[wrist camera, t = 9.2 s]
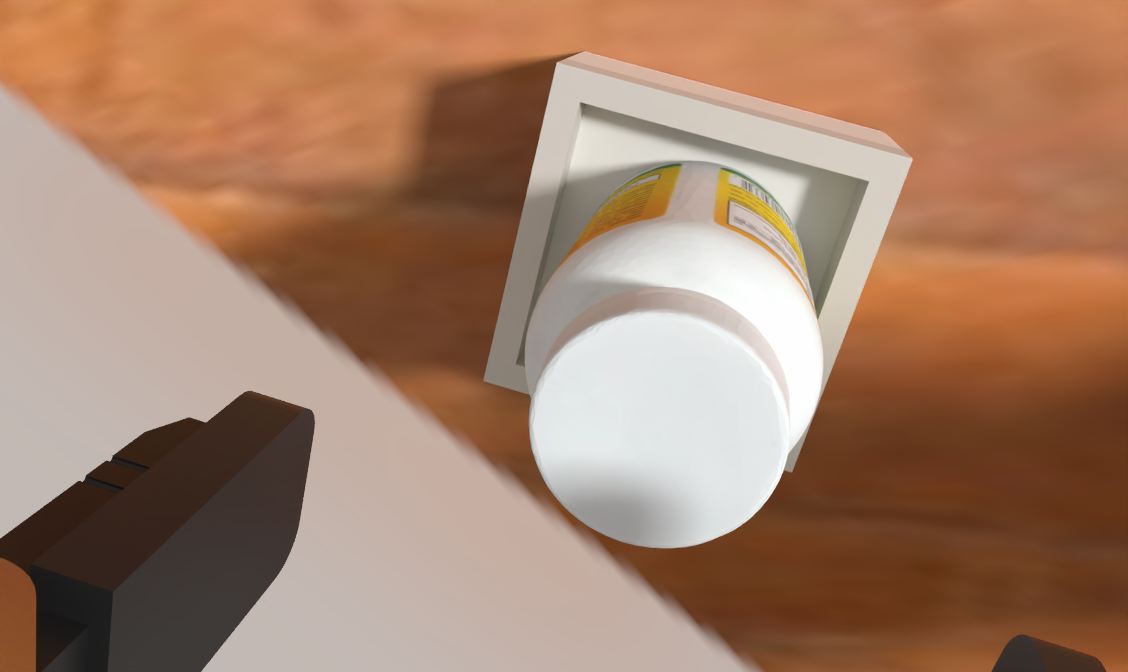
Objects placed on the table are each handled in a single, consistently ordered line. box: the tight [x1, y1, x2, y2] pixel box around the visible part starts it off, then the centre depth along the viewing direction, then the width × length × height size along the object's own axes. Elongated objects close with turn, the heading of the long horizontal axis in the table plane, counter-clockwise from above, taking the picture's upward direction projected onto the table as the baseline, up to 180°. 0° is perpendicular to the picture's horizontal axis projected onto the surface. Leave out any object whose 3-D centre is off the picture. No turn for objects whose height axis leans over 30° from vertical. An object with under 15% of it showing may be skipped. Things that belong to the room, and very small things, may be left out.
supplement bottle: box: [525, 160, 823, 548], centre depth 19 cm, size 5×5×10 cm
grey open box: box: [483, 51, 913, 473], centre depth 24 cm, size 8×8×4 cm
